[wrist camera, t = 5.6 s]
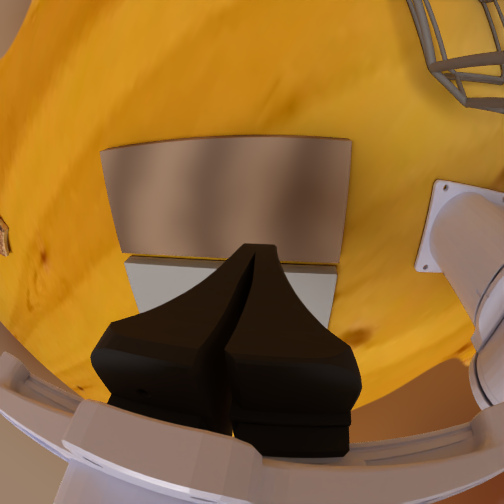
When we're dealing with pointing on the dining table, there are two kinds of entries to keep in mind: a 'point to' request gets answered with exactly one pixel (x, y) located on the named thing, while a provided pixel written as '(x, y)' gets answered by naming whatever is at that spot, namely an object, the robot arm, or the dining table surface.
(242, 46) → the dining table surface
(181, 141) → the walnut board
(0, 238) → the shard
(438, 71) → the geometric lantern
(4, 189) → the dining table surface
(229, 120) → the dining table surface
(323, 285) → the grey plank
